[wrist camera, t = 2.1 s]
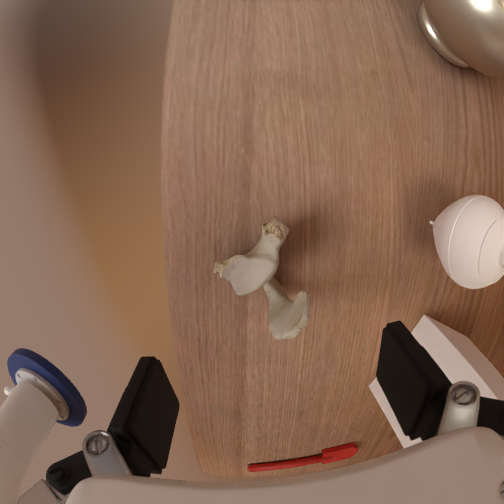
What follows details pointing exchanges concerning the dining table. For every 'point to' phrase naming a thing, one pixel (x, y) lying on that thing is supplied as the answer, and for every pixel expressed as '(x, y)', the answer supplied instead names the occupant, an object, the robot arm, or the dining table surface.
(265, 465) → the red toy shovel
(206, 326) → the dining table surface
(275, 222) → the bone
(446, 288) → the dining table surface
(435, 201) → the dining table surface
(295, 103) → the dining table surface
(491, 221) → the spinning top
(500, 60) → the teapot
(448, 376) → the milk
